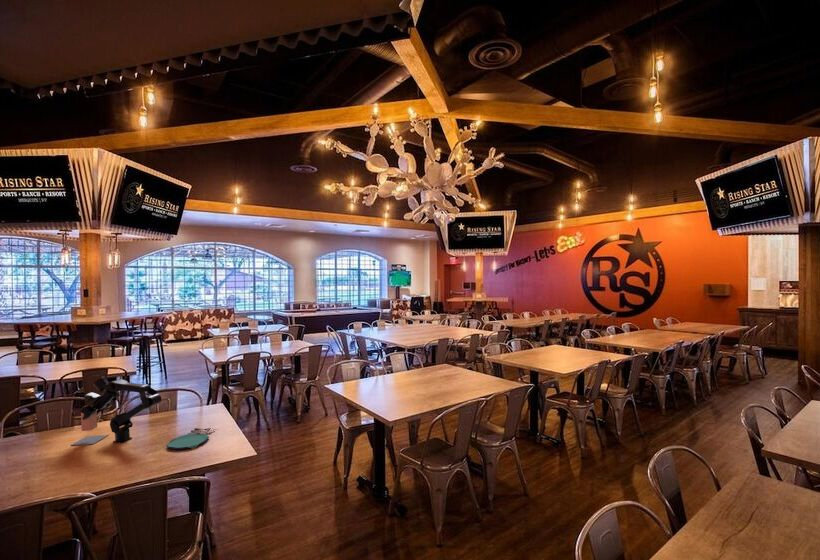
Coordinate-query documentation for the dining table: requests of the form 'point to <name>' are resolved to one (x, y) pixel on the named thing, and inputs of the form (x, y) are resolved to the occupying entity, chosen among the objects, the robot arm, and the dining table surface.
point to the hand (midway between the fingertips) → (86, 417)
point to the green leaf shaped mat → (188, 440)
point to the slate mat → (89, 440)
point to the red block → (89, 422)
